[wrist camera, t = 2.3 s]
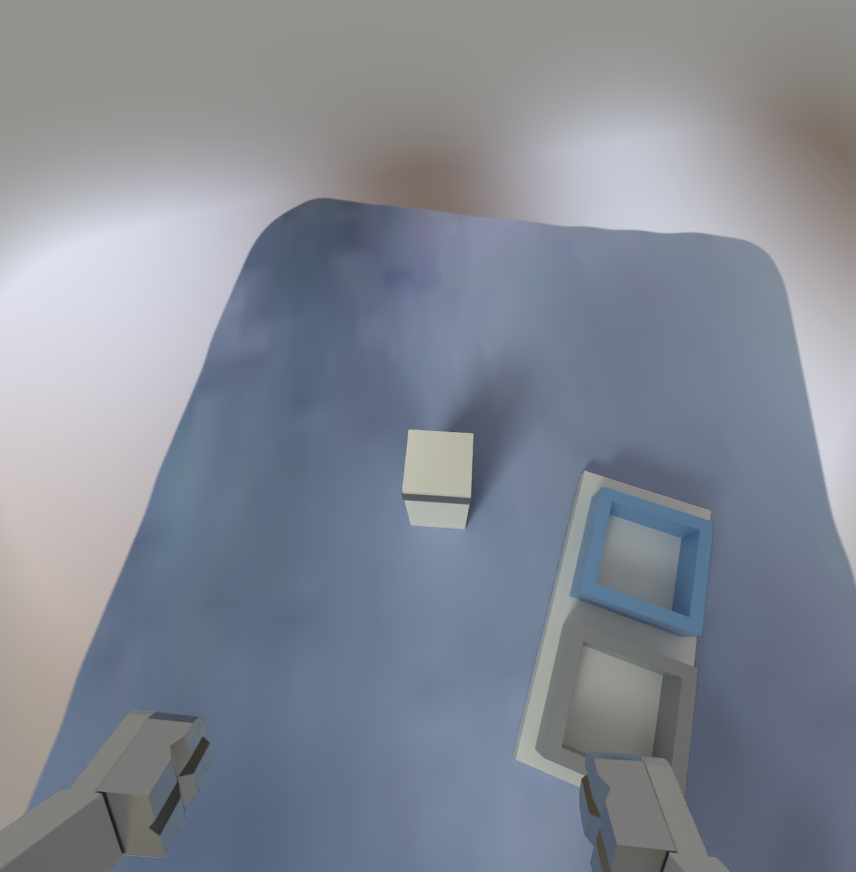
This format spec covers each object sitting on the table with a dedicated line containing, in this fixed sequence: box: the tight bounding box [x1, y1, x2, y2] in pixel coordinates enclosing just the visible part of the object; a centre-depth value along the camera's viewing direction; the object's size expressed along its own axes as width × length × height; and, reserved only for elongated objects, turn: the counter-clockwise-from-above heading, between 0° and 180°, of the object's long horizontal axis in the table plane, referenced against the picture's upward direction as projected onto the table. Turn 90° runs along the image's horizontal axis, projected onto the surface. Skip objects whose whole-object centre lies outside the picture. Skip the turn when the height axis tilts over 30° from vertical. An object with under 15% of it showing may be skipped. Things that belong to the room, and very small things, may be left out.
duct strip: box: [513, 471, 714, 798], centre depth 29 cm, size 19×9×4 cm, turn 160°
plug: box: [402, 430, 474, 529], centre depth 31 cm, size 4×4×8 cm
